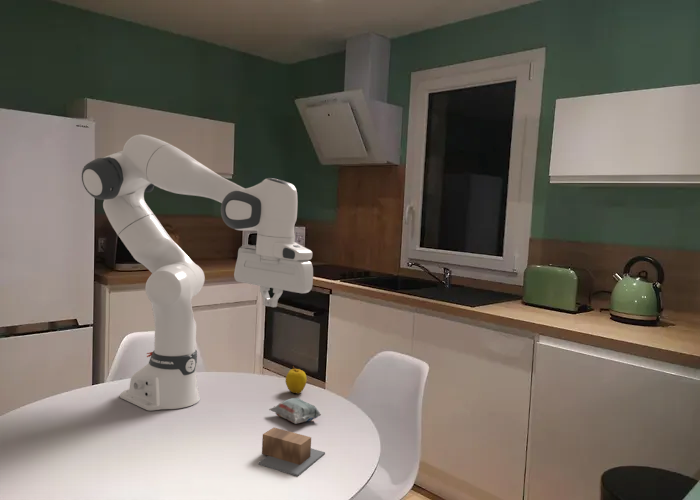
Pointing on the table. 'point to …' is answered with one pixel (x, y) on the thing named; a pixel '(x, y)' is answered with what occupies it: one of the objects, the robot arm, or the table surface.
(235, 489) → the table surface
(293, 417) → the packaged food
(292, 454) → the pillar
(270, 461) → the mat
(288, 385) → the apple
